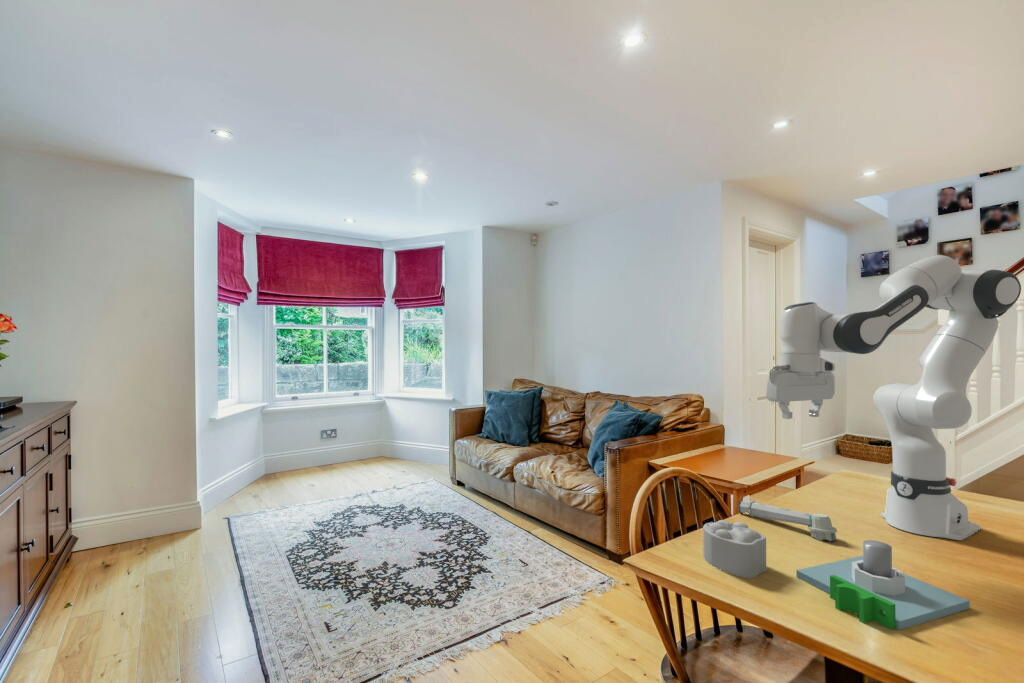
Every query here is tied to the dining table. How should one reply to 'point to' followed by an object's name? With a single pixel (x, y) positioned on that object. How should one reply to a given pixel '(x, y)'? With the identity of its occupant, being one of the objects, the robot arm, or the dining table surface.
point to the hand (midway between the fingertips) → (800, 417)
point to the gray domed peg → (877, 558)
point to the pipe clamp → (862, 603)
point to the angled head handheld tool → (792, 518)
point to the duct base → (904, 603)
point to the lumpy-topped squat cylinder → (734, 548)
